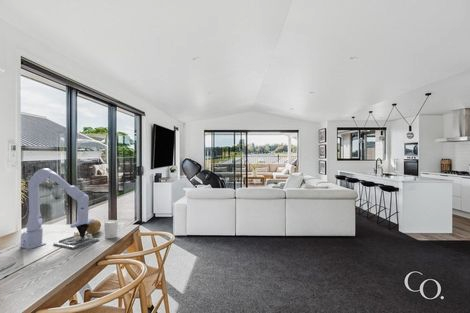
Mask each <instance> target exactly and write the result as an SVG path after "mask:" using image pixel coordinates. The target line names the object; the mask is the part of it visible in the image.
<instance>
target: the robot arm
mask: <svg viewBox="0 0 470 313" xmlns="http://www.w3.org/2000/svg"><path fill="white" fill-rule="evenodd" d="M46 180H47V181H51V182H55V183H56V184H58V185H59V186H60V187H61V188H63V189H65V191H66V194H67V195H68V196H70V197H71V198H72V199H74V200H75V201H76V203H77V217H76V218H77V219H76V222H73V223H71V224H70V228H71V229H74V228H76V229H77V232H78V234H79V235H80V237H84V236H85V237H86V233H87V231H86V230H87V228H88V227H89V224H88V223H93V222H94V220H95V218H90V219H89V200H90V199H89V198H90V197H89V195H88V194H87V193H85V191H82V190H81V189H79V187H78V185H71V184H70V183H68V181H66V180H65V179H64V178H62V177H61V176H60V175H59V174H58V173H57V172H55V171H53V170H52V169H51V168H48V167H44V168H40V169H38V170H37V171H35V172H34V174H33V175H32V177H31V178H30V179H29V180H28V183H27V184H28V185H27V187H28V188H27V189H28V190H27V191H28V192H27V193H28V210H29V211H28V216H27V223H26V224H25V226H26V227H25V228H26V231H24V232H22V233H21V235H20V246H19V248H22V249H25V250H26V249H27V250H30V249H34V248H38V247H41V246H43V245H46V244H47V243H46V242H43V231H44V230H43V229H44V228H43V226H42V225H43V224H44V219H43V218H42V212H41V204H40V203H41V202H40V201H41V200H40V185H41V184H42V183H43V182H44V181H46Z"/></svg>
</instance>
